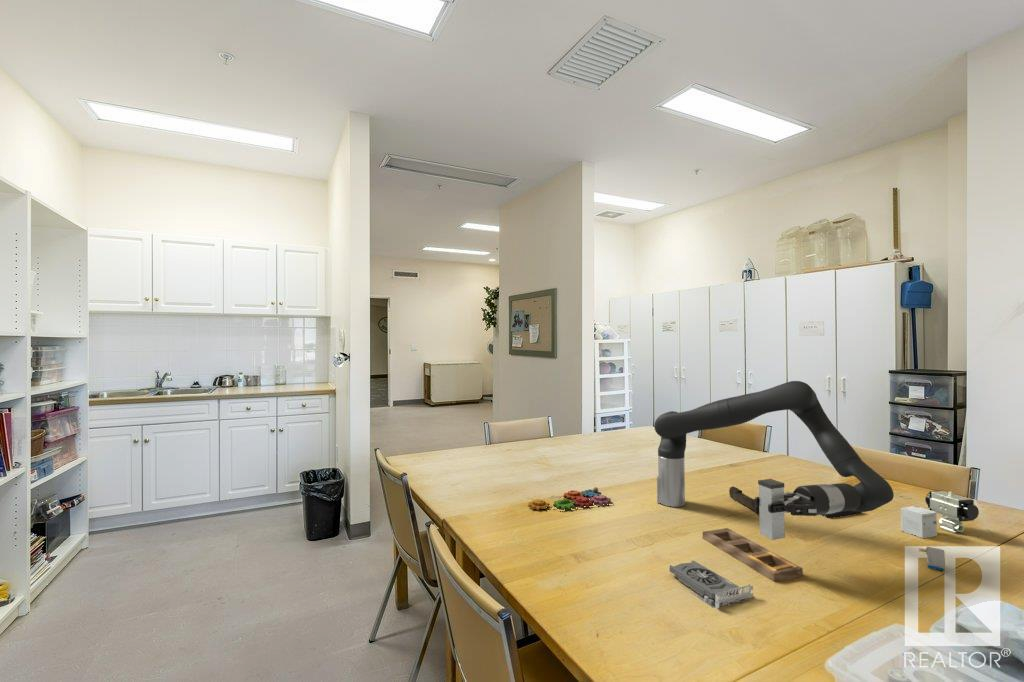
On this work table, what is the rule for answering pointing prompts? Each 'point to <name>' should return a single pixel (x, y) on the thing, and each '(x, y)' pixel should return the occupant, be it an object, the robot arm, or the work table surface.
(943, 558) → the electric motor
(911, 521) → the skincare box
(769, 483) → the peg
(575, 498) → the gear puzzle
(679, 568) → the graphics card
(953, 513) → the pneumatic valve
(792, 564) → the rail
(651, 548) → the work table surface
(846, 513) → the multiport hub
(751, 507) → the hand tool
